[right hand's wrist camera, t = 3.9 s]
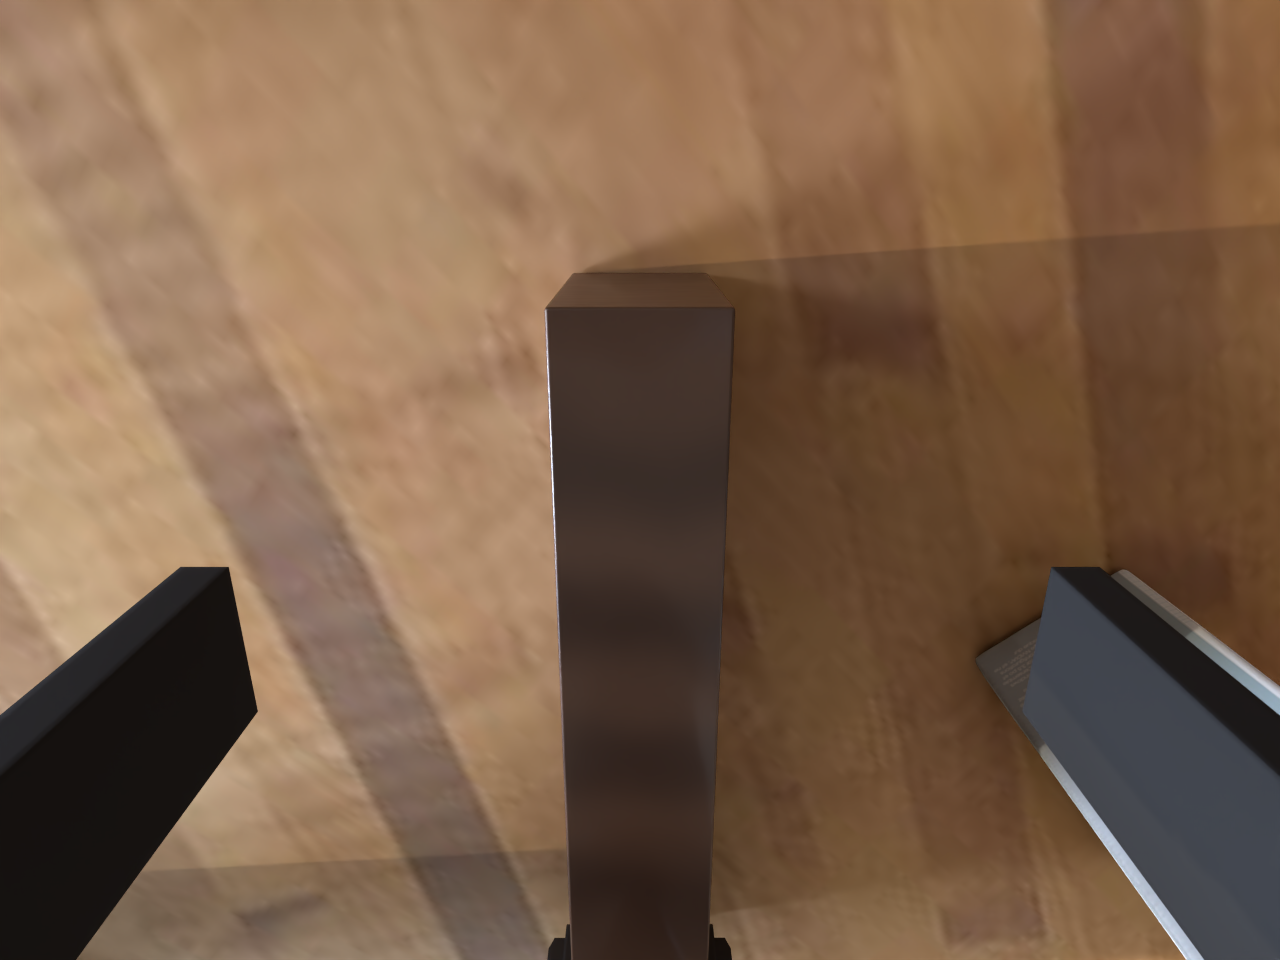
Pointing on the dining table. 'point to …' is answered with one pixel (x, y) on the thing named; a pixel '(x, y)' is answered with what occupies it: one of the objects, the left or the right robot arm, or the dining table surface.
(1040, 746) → the hard drive box
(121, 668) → the right robot arm
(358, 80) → the dining table surface
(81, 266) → the dining table surface
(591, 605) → the walnut beam
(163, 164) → the dining table surface
